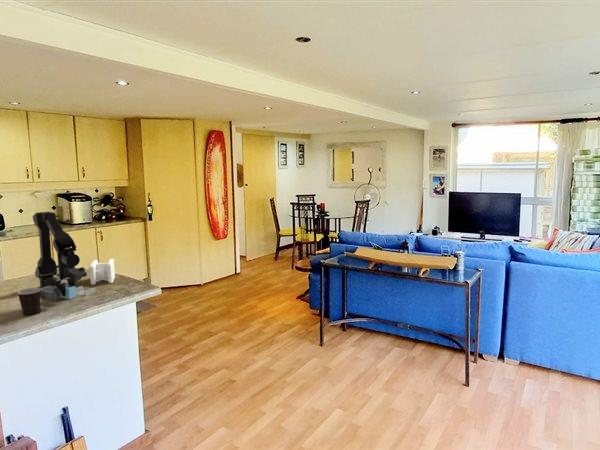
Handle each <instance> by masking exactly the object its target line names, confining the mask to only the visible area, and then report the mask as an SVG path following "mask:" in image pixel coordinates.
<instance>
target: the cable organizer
mask: <svg viewBox="0 0 600 450" xmlns="http://www.w3.org/2000/svg"><path fill="white" fill-rule="evenodd" d="M88 270H89V278H90V285H91V286H95V285H96V284H97V282H98V283H100V281H105V282H107V281H108V284H112V283H113V282H114V280H115V278H116V272H115V270H116V269H115V259H114V258H110V259H109V260H108V262H99V260H98V259H94V260H93V261H91V263H90V265H89V266H88Z"/></svg>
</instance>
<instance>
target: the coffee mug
mask: <svg viewBox="0 0 600 450" xmlns="http://www.w3.org/2000/svg"><path fill="white" fill-rule="evenodd" d="M17 295H18V300H19V303H20V304H19V305H20V306H21V311H22V315H23V316H25V317H32V315H33V316H37V315H39V314H41V312H42V311H41V310H42V298H41V289H40V288H37V287H31V288H30V287H29V288H25V289H21V290H18V292H17ZM36 314H37V315H36Z"/></svg>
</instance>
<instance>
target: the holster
mask: <svg viewBox="0 0 600 450" xmlns="http://www.w3.org/2000/svg"><path fill="white" fill-rule="evenodd" d="M94 293H96V287H92V288H89V289H87V290H84V286H83V285H81V286H78V287H76V295H80V296H88V295H91V294H94Z"/></svg>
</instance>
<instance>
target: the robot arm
mask: <svg viewBox="0 0 600 450" xmlns="http://www.w3.org/2000/svg"><path fill="white" fill-rule="evenodd" d="M32 221H33V222H34V225H35V227H36V228H37V229H38V237H39V251H40V257H39V259H38V261H37V266H36V269H35V272H34V275H35V277H36V278H38V280H39V286H38V287H36V288H43V287H46V286H56V287H57V288H58V289H59V291H60V292H61V294H62V295H63V296H65V295H66V292H65V285H66V284H69V285H70V286H76V285H77V283H78V282H79V281H80V280H81V279H82V278H84V277H86V276H88V272H87V270H86V268H85V267H84V266H83V267H82V266H81V267H79V268H76V266H78V265H79V263H80V261H81V260H80V257H79V255H78V254H76V252H75V251H77V245H76V243H75V241H74V239H73V238H72V237H71V236H70V234H69V233H68V232H66V231H64V229H63V228H62V225H61V224H60V222H59V220H58V219H57V215H56V212H53V211H51V212H50V211H41V212H35V213H34V214H33V215H32ZM51 235H52V237H53V239H52V246H53V248H54V250H55V252H56V254H57V263H56V261H55V259H54V258H53V256H52V248H51ZM54 276H57V277H54ZM65 280H66V281H67V282H65Z"/></svg>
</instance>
